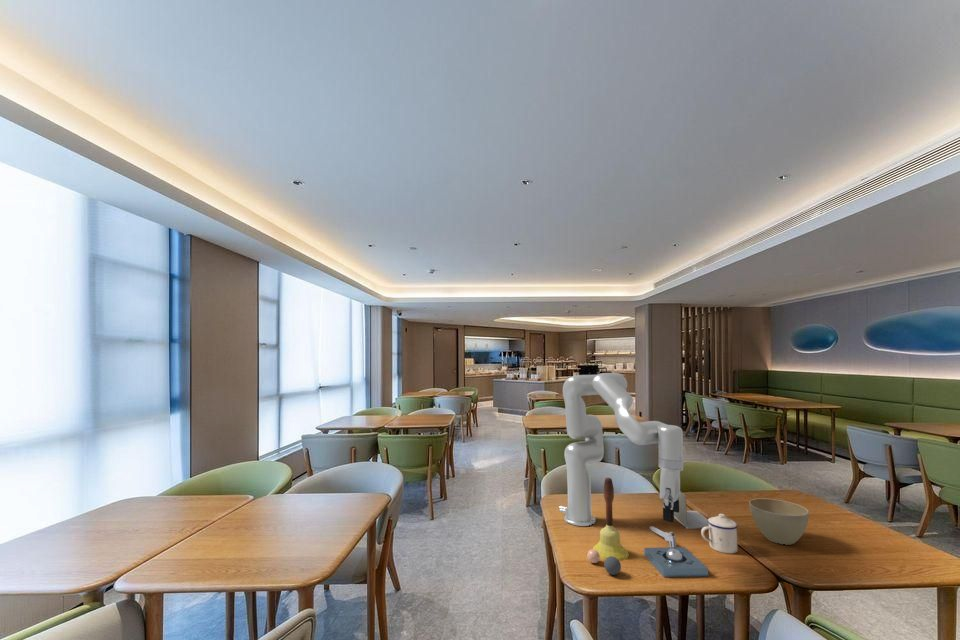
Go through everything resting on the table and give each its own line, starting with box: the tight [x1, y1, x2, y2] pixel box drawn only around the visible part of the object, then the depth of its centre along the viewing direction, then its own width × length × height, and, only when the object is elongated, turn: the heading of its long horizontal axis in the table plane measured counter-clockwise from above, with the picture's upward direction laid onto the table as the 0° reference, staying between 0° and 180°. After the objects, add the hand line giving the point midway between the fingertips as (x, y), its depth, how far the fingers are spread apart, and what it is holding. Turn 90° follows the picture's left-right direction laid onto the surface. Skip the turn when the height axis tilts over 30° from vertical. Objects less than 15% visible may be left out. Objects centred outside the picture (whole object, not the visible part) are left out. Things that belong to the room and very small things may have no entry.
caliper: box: [649, 525, 677, 547], centre depth 155 cm, size 20×1×6 cm, turn 1°
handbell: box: [591, 477, 630, 562], centre depth 146 cm, size 12×12×25 cm
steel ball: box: [666, 549, 683, 563], centre depth 136 cm, size 5×5×5 cm
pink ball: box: [586, 548, 601, 564], centre depth 138 cm, size 4×4×4 cm
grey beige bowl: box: [748, 497, 810, 546], centre depth 155 cm, size 18×18×12 cm
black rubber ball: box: [603, 556, 622, 576], centre depth 131 cm, size 5×5×5 cm
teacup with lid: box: [700, 513, 738, 554], centre depth 149 cm, size 12×9×12 cm
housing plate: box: [643, 546, 709, 578], centre depth 136 cm, size 14×14×2 cm
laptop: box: [674, 490, 709, 530], centre depth 174 cm, size 18×12×13 cm
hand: (671, 516), depth 138 cm, fingers open, 9 cm apart
